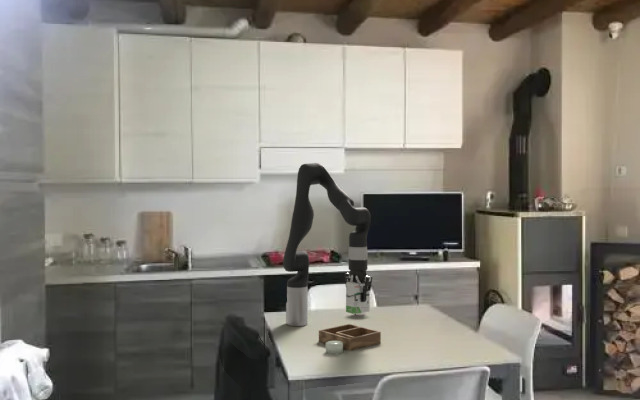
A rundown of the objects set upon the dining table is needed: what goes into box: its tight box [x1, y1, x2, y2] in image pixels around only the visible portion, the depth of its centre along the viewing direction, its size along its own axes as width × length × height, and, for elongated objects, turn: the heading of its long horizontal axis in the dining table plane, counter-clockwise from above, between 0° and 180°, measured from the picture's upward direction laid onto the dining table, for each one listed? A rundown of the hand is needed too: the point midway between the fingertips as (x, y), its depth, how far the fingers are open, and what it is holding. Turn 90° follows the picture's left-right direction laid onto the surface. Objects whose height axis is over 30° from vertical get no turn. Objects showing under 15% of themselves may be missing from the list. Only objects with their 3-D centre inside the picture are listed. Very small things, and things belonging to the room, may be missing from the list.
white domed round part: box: [325, 341, 344, 355], centre depth 217 cm, size 6×6×4 cm
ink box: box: [345, 282, 371, 315], centre depth 228 cm, size 9×5×12 cm, turn 123°
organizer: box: [318, 323, 382, 352], centre depth 230 cm, size 18×17×4 cm
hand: (358, 300), depth 228 cm, fingers closed on ink box, 5 cm apart
